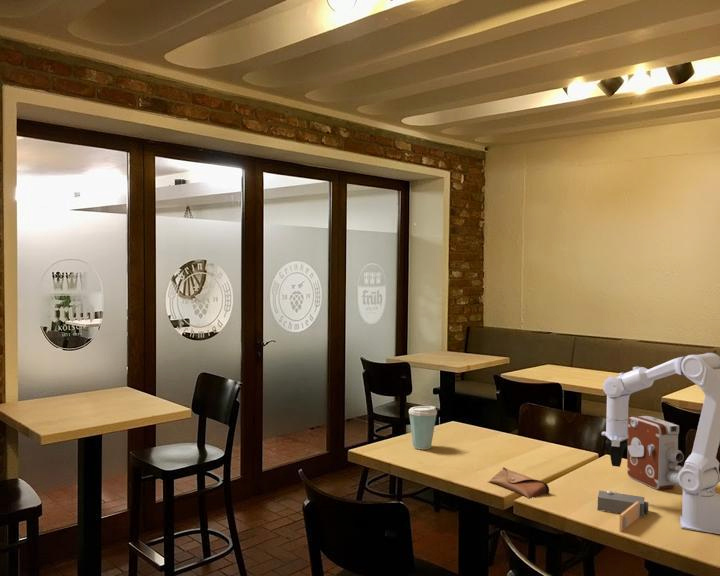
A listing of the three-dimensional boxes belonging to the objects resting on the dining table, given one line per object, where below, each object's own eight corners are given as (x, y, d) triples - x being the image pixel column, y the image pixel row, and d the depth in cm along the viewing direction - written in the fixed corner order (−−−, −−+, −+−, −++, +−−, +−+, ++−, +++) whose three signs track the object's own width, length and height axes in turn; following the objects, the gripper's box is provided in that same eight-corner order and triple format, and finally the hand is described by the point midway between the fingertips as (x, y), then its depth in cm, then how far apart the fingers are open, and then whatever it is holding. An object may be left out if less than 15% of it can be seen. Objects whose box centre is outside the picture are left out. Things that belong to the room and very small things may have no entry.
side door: (636, 515, 165) (636, 500, 164) (641, 516, 164) (642, 501, 164) (618, 530, 154) (619, 514, 154) (624, 532, 154) (624, 516, 154)
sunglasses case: (484, 481, 191) (492, 461, 193) (497, 489, 194) (505, 469, 196) (530, 499, 176) (539, 477, 178) (544, 507, 180) (552, 485, 181)
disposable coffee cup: (404, 449, 225) (405, 408, 225) (411, 442, 235) (411, 402, 235) (433, 452, 222) (434, 410, 222) (438, 444, 232) (439, 405, 232)
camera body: (648, 510, 169) (648, 495, 169) (648, 518, 163) (648, 502, 163) (599, 502, 174) (599, 488, 174) (597, 510, 169) (597, 495, 169)
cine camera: (668, 497, 179) (669, 428, 179) (622, 476, 198) (624, 414, 197) (694, 495, 181) (695, 427, 181) (647, 474, 200) (648, 413, 200)
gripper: (603, 412, 186) (602, 457, 186) (600, 422, 173) (599, 470, 173) (629, 414, 183) (628, 460, 183) (628, 425, 170) (627, 474, 170)
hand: (616, 465), depth 178 cm, fingers closed
